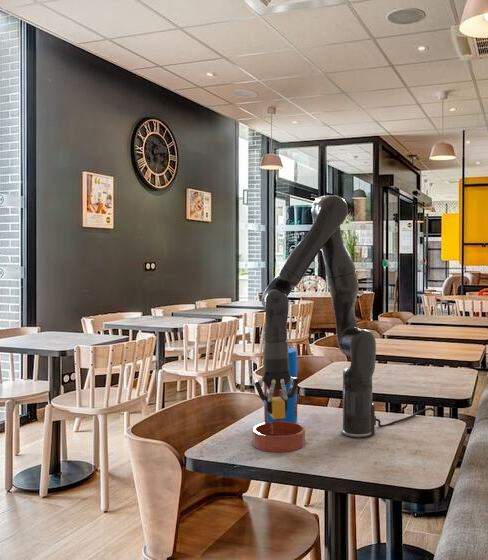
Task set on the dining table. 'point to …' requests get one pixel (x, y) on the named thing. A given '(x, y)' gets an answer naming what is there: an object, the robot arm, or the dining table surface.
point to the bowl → (279, 436)
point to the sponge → (278, 408)
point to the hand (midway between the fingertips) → (277, 412)
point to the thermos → (291, 402)
